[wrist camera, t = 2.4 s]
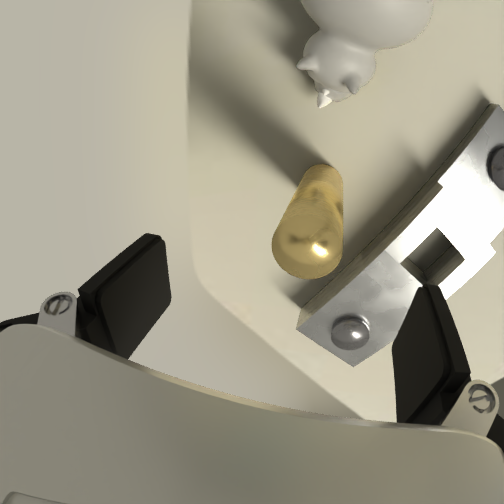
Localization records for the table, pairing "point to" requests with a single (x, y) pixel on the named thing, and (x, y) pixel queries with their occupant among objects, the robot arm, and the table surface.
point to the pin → (312, 226)
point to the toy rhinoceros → (356, 40)
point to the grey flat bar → (406, 240)
